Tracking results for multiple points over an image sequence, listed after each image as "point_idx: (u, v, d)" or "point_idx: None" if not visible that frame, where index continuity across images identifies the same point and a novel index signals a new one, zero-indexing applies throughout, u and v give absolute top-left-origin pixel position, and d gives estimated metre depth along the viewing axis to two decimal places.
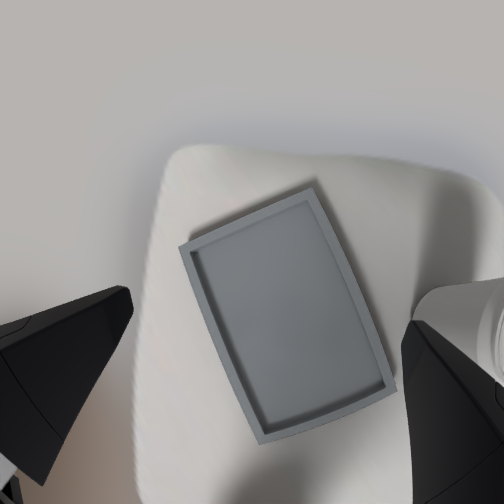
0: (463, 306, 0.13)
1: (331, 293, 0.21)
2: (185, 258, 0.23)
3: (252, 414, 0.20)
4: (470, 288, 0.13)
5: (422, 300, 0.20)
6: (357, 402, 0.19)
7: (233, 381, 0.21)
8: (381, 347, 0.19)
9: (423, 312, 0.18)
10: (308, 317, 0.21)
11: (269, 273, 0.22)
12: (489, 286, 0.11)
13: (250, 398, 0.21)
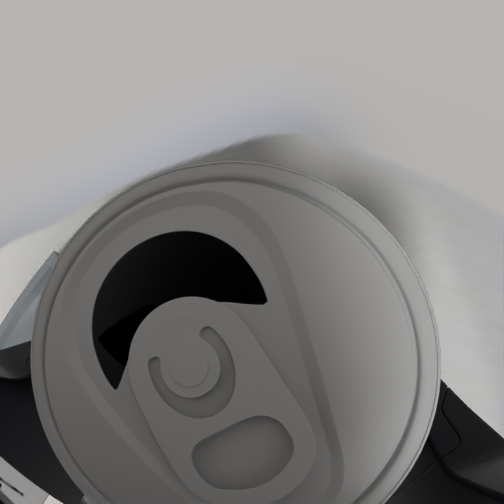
0: None
1: None
2: None
3: None
4: (162, 294, 0.08)
5: None
6: None
7: None
8: None
9: None
10: None
11: None
12: (123, 270, 0.06)
13: None
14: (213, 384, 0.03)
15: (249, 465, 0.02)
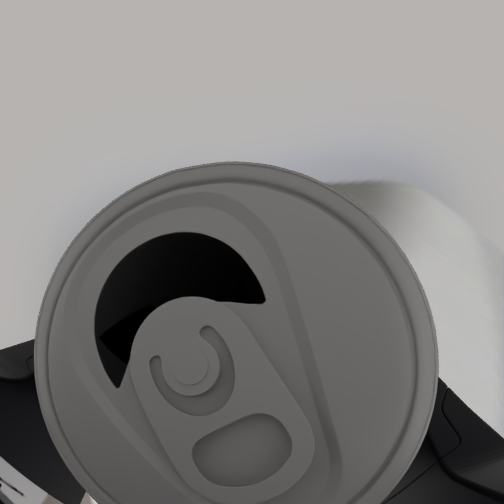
0: None
1: None
2: None
3: None
4: (164, 294, 0.08)
5: None
6: None
7: None
8: None
9: None
10: None
11: None
12: (125, 271, 0.06)
13: None
14: (212, 382, 0.03)
15: (248, 463, 0.03)
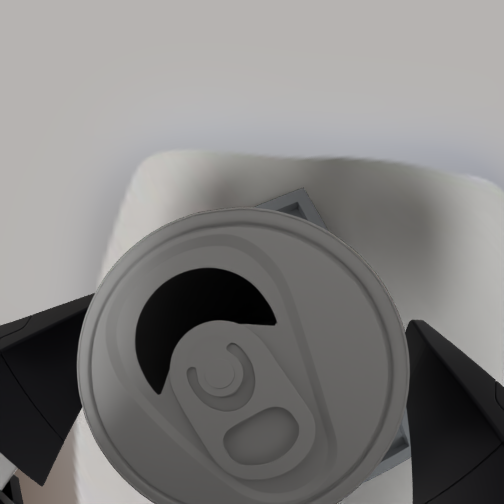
0: None
1: None
2: None
3: None
4: (177, 308, 0.09)
5: None
6: None
7: None
8: None
9: None
10: None
11: None
12: None
13: None
14: (238, 385, 0.04)
15: (266, 446, 0.03)
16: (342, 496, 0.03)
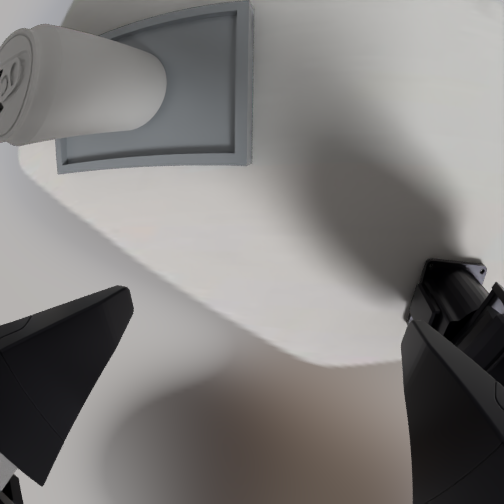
0: None
1: None
2: (65, 170, 0.21)
3: (203, 156, 0.18)
4: None
5: None
6: (238, 40, 0.14)
7: (161, 161, 0.19)
8: (190, 9, 0.14)
9: None
10: None
11: None
12: None
13: (191, 153, 0.19)
14: (6, 80, 0.07)
15: (18, 72, 0.07)
16: (37, 46, 0.06)
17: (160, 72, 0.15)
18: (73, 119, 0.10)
